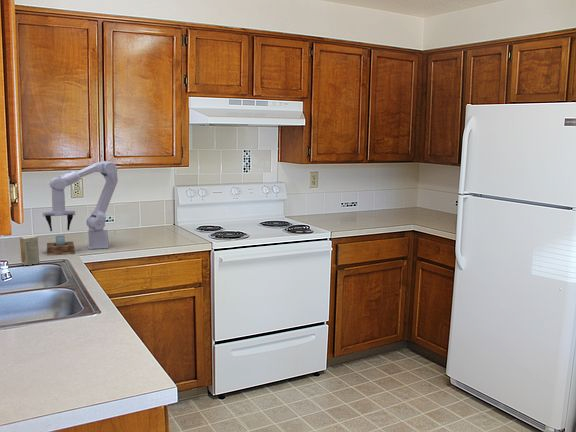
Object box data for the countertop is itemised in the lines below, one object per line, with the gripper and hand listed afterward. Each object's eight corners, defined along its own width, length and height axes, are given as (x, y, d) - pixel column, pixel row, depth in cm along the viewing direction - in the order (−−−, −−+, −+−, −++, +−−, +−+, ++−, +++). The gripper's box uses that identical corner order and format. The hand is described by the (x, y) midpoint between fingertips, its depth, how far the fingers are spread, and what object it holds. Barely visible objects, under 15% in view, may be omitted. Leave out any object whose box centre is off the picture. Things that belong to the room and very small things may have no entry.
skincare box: (35, 262, 254) (33, 235, 252) (39, 263, 251) (38, 236, 250) (20, 264, 249) (19, 237, 248) (25, 266, 247) (24, 238, 245)
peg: (64, 249, 279) (63, 235, 278) (65, 251, 275) (65, 236, 274) (55, 250, 277) (55, 235, 276) (56, 251, 273) (56, 237, 272)
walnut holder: (73, 248, 284) (73, 241, 284) (74, 253, 273) (74, 245, 273) (47, 250, 280) (46, 242, 279) (47, 255, 269) (47, 247, 268)
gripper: (42, 204, 268) (43, 232, 270) (75, 203, 273) (76, 231, 275) (42, 202, 274) (43, 230, 276) (74, 201, 280) (75, 228, 282)
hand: (59, 230), depth 276 cm, fingers open, 7 cm apart
